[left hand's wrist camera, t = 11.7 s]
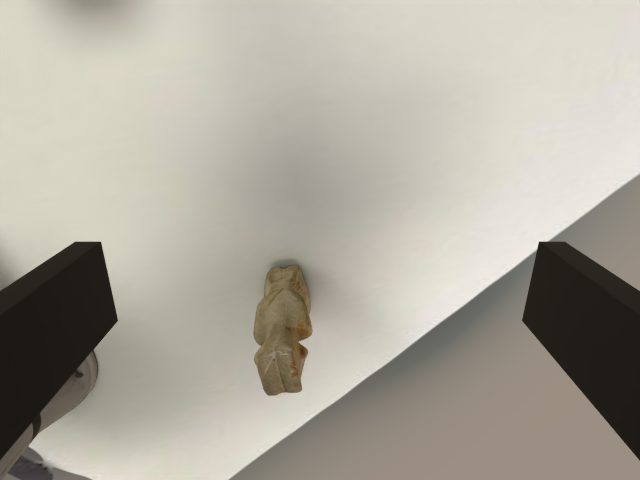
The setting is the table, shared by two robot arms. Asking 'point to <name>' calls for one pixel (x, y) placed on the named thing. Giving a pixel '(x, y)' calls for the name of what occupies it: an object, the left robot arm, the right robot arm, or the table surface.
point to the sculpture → (282, 330)
